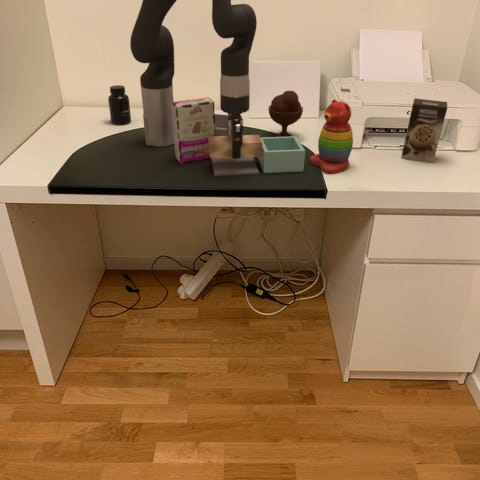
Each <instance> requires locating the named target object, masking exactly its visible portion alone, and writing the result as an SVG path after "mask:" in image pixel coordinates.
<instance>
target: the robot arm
mask: <svg viewBox="0 0 480 480" xmlns="http://www.w3.org/2000/svg"><path fill="white" fill-rule="evenodd" d="M177 1H178V0H142V2H141V6H140V9H139V12H138V14H137V17H136V20H135V23H134V26H133V28H132V32H131V36H130V43H129V44H130V52H131V54H132V57H133V58H134V59H135V60H136V61H137V62H138V63H141V64H148V66H147V68H146V69H145V71H144V72H143V73H141V74H140V76H139V78H140V79H139V81H140V90H141V91H140V92H141V100H142V111H143V113H142V117H143V128H144V136H145V137H144V138H145V145H146V146H152V147H159V148H160V147H168V146H172V145H175V143H174V132H173V119H172V108H171V102H175V101H174V89H173V88H174V87H173V85H174V84H173V78H174V76H175V44H174V39H173V36H172V34H171V31H170V29H169V28H167V27H166V26H165V25H163V22H164V20H165V17H166V16H167V14H168V13H169V12H170V10H171V9H172V7H174V5H175V3H176V2H177ZM211 2H212V3H211V5H212V7H211V21H212V26H213V29H214V31H215V33H216V34H217V35H218V37H220V38H221V39H232V38H233V40H232V42H231V44H230V45H229V46H227V47H225V48H224V49H222V50H221V52H220V80H219V81H220V82H219V91H220V93H219V96H220V97H219V98H220V99H219V100H220V101H219V102H220V103H219V104H220V106H219V107H220V110H221V112H223V113H226V114H227V115H228V116H227V128H228V130H227V132H228V135H227V136H230V137H231V138H232V142H231V144H232V158H233V159H239V158H240V157H241V146H242V144H243V142H242V139H243V135H244V131H243V130H244V118H243V115H241V114H244V113H247V112H248V111H249V110H250V98H251V97H250V91H251V89H250V86H251V85H250V84H251V82H250V54H251V51H252V47H253V43H254V39H255V35H256V32H257V23H258V22H257V15H256V12H255V10H254V8H253V7H252V6H251V5H250V4H247V3H237V4H232V0H212V1H211ZM235 138H239V141H235Z"/></svg>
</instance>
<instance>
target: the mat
mask: <svg viewBox="0 0 480 480" xmlns="http://www.w3.org/2000/svg"><path fill="white" fill-rule="evenodd" d="M211 164H212V170H213V174H214V177H220V176H221V177H222V176H226V177H227V176H244V175H245V176H246V175H247V176H248V175H259V174H260V171H259V169H258V167H257V163H256V160H255V157H241V158H239V159H233V158H218V159H211Z"/></svg>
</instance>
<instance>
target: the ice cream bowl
mask: <svg viewBox="0 0 480 480" xmlns="http://www.w3.org/2000/svg"><path fill="white" fill-rule="evenodd" d="M303 112H304V107H303V106H302V104H301V102H300V101H299V96H298V94H297V92H295V91H293V90H285V91H283V93H282V94H278V95H275V96H274V97H273V98H272V100H271V103H270V105H268V114H269V116H270V119H272V121H273V122H274V123H276V124H278V125H279V126H280V127H281V132H278V133H277V134H275V137H289V136H293V135H292V134H291V133H289V132H288V127H289V126H291V125H293V124H295V123H297V122H298V121H299V120H300V119H301V117H302V115H303Z"/></svg>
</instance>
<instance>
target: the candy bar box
mask: <svg viewBox="0 0 480 480" xmlns="http://www.w3.org/2000/svg"><path fill="white" fill-rule="evenodd" d="M171 108H172V119H173V132H174V153H175V159H176V161H178V162H179V163H180V164H185V163H186V164H187V163H194V162H197V161H203V160H204V161H205V160H208V159H210V154H209V142H208V137H212V136H216V129H215V114H216V113H215V110H216V109H215V101H214V100H213V99H212V98H210V97H202V98H194V99H185V100H180V101H179V100H178V101H174V102H171ZM210 160H211V159H210Z"/></svg>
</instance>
